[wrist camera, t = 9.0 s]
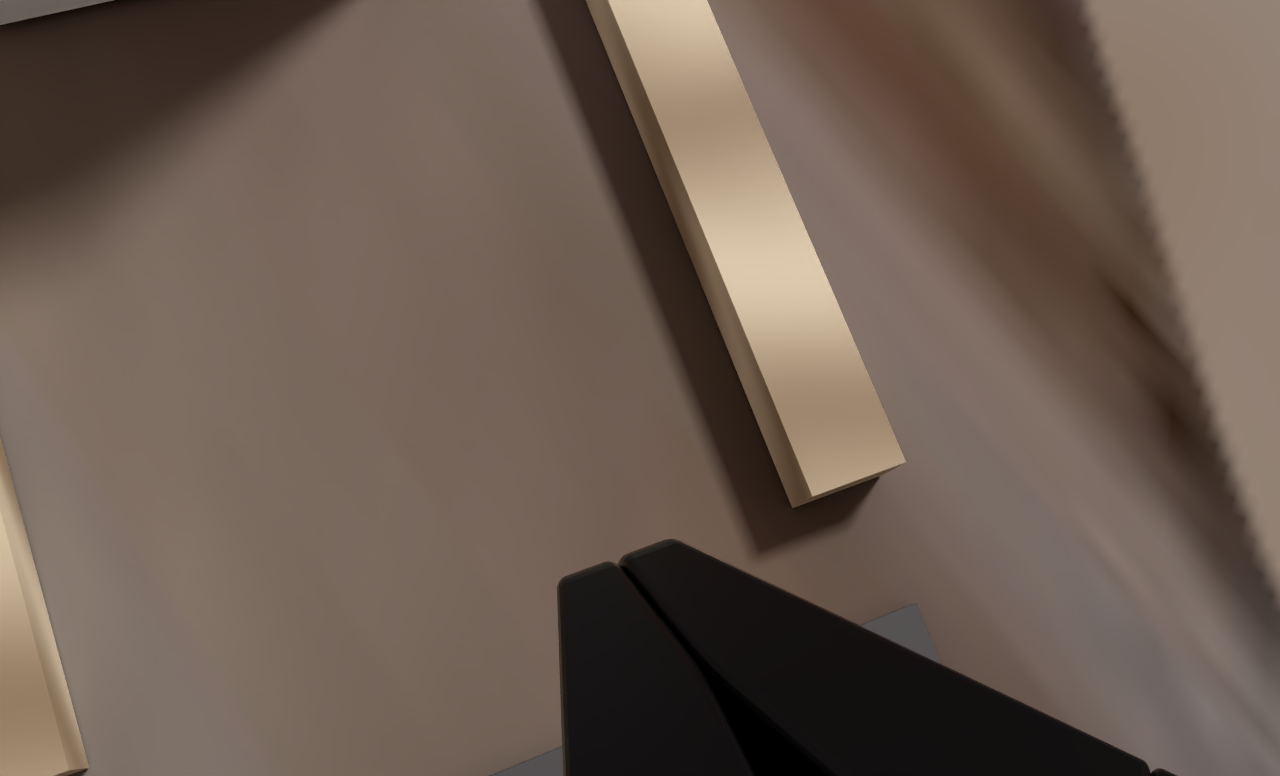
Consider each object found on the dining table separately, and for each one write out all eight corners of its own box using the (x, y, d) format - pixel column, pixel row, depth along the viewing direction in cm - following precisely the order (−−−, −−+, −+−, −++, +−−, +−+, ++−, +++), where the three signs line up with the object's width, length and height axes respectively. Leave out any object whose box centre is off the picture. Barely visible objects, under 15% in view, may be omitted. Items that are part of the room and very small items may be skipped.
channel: (881, 475, 23) (906, 462, 22) (-43, 815, 19) (-72, 821, 17) (630, -114, 26) (641, -153, 25) (-227, 58, 21) (-263, 20, 20)
